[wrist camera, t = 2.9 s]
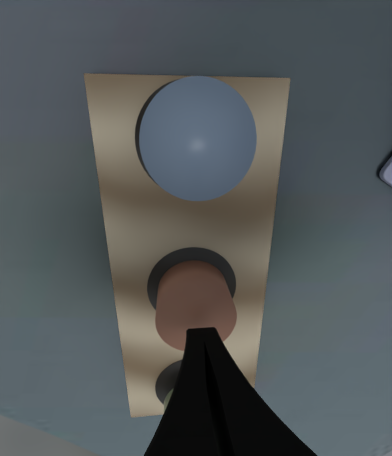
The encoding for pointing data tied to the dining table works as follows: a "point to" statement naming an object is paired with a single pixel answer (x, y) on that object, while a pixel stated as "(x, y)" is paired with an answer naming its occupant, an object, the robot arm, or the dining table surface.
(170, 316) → the terracotta button
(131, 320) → the button panel
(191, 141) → the slate button
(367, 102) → the dining table surface
